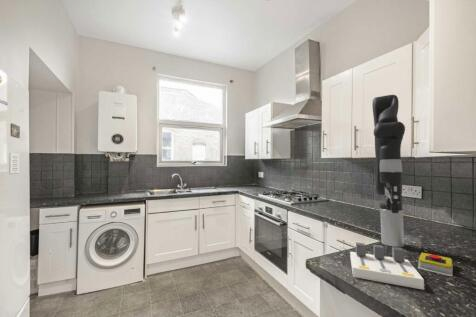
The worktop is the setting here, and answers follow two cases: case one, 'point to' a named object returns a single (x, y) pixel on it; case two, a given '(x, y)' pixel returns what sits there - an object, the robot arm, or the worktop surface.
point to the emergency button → (436, 264)
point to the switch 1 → (360, 249)
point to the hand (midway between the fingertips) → (392, 211)
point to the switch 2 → (378, 251)
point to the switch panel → (386, 270)
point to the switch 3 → (398, 254)
